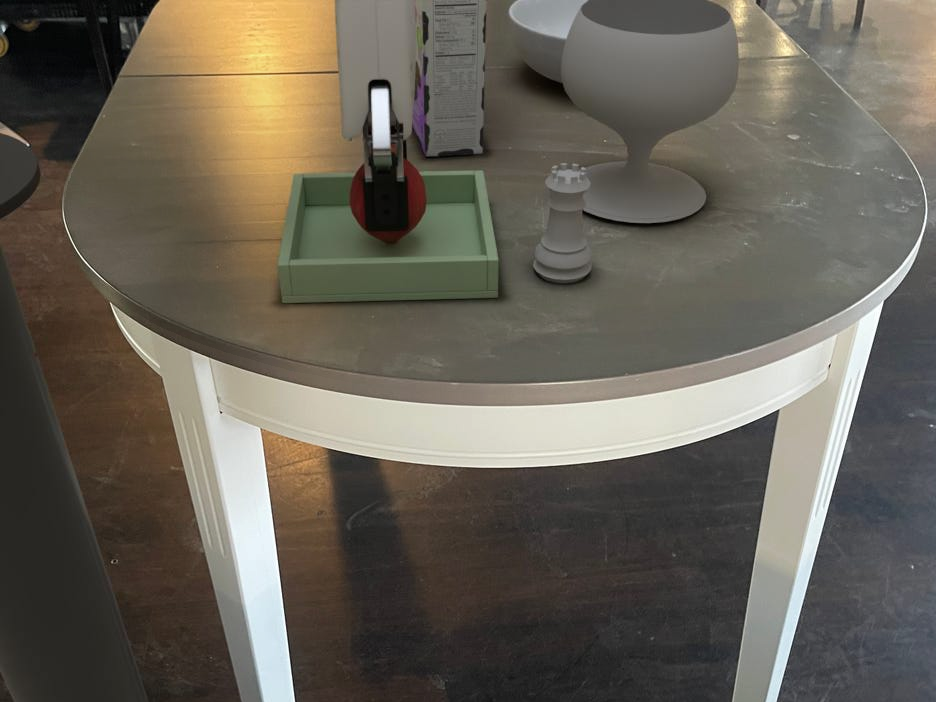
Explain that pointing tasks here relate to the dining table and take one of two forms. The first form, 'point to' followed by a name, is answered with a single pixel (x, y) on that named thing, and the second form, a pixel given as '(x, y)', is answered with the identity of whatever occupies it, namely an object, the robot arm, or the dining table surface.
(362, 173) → the onion
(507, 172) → the dining table surface
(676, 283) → the dining table surface
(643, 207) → the chalice
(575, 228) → the rook chess piece
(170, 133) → the dining table surface
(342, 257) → the tray
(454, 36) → the candy box
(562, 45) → the serving bowl
